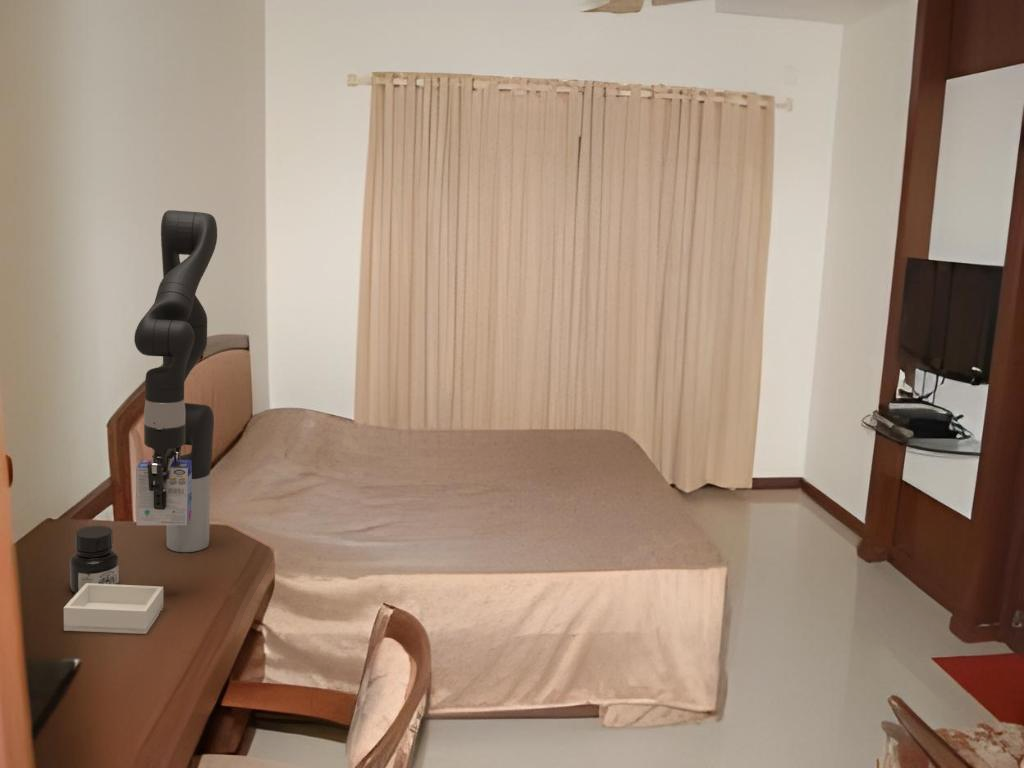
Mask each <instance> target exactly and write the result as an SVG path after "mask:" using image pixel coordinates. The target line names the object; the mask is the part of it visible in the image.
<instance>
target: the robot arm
mask: <svg viewBox="0 0 1024 768" xmlns="http://www.w3.org/2000/svg"><path fill="white" fill-rule="evenodd" d="M217 225H218V224H217V221H216V218H215V216H213V215H212V214H210V213H207V212H202V211H201V212H200V211H190V210H189V211H188V210H176V209H175V210H172V209H171V210H166V211H165V212H164V213H163V215H162V219H161V224H160V242H161V243H160V244H161V245H160V246H161V260H162V261H161V262H162V275H163V278H162V279H161V281H160V283H159V285H158V288H157V292H156V295H155V299H154V303H153V304H152V305H151V307H150V308H149V309H148V311H147V312H146V313H145V315H143V317H142V318H141V320H140V321H139V323H138V325H137V327H136V329H135V332H134V345H135V347H136V349H137V351H138V352H139V353H140V354H142V355H144V356H147V357H162V366H158V367H154V368H151V369H148V370H147V372H146V373H145V381H144V382H145V392H144V393H145V394H144V395H145V399H144V400H145V402H144V409H143V411H144V412H143V416H144V417H143V419H144V420H143V421H144V422H143V424H144V425H143V426H144V427H143V431H144V432H143V433H144V434H143V436H144V437H143V439H144V440H143V443H144V445H145V446H146V447H147V448H149V449H152V450H153V455H152V456H151V459H150V460H151V463H148V465H147V467H148V480H149V491H154V509H158V510H164V509H165V508H166V490H167V481H168V480H169V479H170V477H171V470H170V468H171V466H172V465H173V464H174V459H175V462H176V461H177V460H191V461H192V497H191V516H192V517H191V519H190V521H189V523H188V525H186V526H184V525H166V547H167V550H171V551H172V552H178V553H191V552H198V551H202V550H205V549H206V548H207V547H209V546H210V523H211V521H210V519H211V518H210V517H211V516H210V514H211V509H210V508H211V507H210V506H211V466H212V465H211V464H212V457H213V439H214V438H213V437H214V427H215V425H214V424H215V422H214V421H215V419H214V412H213V409H212V408H211V407H210V406H209V405H206V404H198V403H189V402H188V403H187V402H185V382H186V379H187V378H188V377H189V374H190V373H191V371H192V370H193V369H194V367H195V366H196V364H197V363H198V362H199V360H200V359H201V357H202V356H203V354H204V353H205V351H206V348H207V344H208V316H207V312H206V311H205V309H204V306H203V305H202V303H201V301H200V300H199V299H198V297H197V296H196V294H197V290H198V287H199V285H200V282H201V279H202V278H203V276H204V274H205V272H206V270H207V268H208V266H209V263H210V262H211V259H212V257H213V255H214V253H215V249H216V246H217V241H218V226H217ZM180 255H183V256H184V255H185V256H188V257H187V258H185V259H184V260H182V261H181V260H180ZM184 445H187V446H191V451H190V453H187V454H183V455H181V451H182V450H181V449H182V446H183V447H184ZM173 450H175V452H173ZM166 471H167V474H166V475H163V472H166ZM157 481H158V482H159V485H157Z"/></svg>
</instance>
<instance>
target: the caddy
mask: <svg viewBox="0 0 1024 768" xmlns="http://www.w3.org/2000/svg"><path fill="white" fill-rule="evenodd" d="M162 608H163V609H164V586H160V585H159V586H157V585H155V586H154V585H153V586H152V585H135V584H134V585H133V584H118V585H116V584H94V583H86V584H85V585H84V586H83V587H82V588H81V589H80V590H79V591H78V592H77V593H75V594H74V596H73V597H72V598H70V600H69V601H67V603H66V605H65V606H64V607H63V631H64V632H65V631H66V632H67V631H68V632H70V631H71V632H92V633H115V634H116V633H117V634H118V633H119V634H142V635H143V634H144V635H146V634H147V633H148V632H149V630H150V629H151V627H152V626H153V624H154V622H155V621H156V619H157V618H158V617H159V615H160V614H159V613H161V612H162V611H163V609H162ZM161 610H162V611H161ZM160 611H161V612H160Z"/></svg>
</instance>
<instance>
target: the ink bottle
mask: <svg viewBox="0 0 1024 768" xmlns="http://www.w3.org/2000/svg"><path fill="white" fill-rule="evenodd" d="M113 531H114V530H112V528H111V527H109V526H105V525H91V526H90V525H89V526H86V527H82V528H79V529H77V530H76V531H75V533H74V541H75V542H74V544H75V551H76V552H75V553H73V555H71V556H70V560H69V585H70V590H71V591H72V592H73V593H74V594H76V593H77V592H78V591H79V590H80V589H81V588H82V587H83V586H84V585H85V584H86V583H94V584H116V585H119V581H120V579H119V577H120V576H119V555H118V553H117V552H116V551H115V550H113V542H114V538H113V536H114V535H113Z"/></svg>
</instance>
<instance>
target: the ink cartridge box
mask: <svg viewBox="0 0 1024 768" xmlns="http://www.w3.org/2000/svg"><path fill="white" fill-rule="evenodd" d="M173 452H175V450H173ZM151 460H152V459H141V461H140V462H139V463H138V465H137V467H136V468H135V469H136V471H135V474H136V475H135V479H136V483H135V484H136V486H135V487H136V488H135V491H136V495H135V496H136V498H135V499H136V500H135V501H136V502H135V503H136V504H135V505H136V506H135V507H136V509H135V511H136V513H135V514H136V517H135V518H136V520H135V522H136V523H135V525H136V526H137V527H138V526H167V525H184V526H186V525H188V523H189V521H190V519H191V517H192V516H191V497H192V461H191V460H177V461H176V462H175V459H174V464H173V465H172V466H171V468H170V470H171V477H170V479H169V480H168V481H167V490H166V508H165V509H164V510H158V509H154V491H149V480H148V467H147V465H148V463H151ZM166 474H167V471H166V472H163V475H166ZM157 485H159V482H158V481H157Z"/></svg>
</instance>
